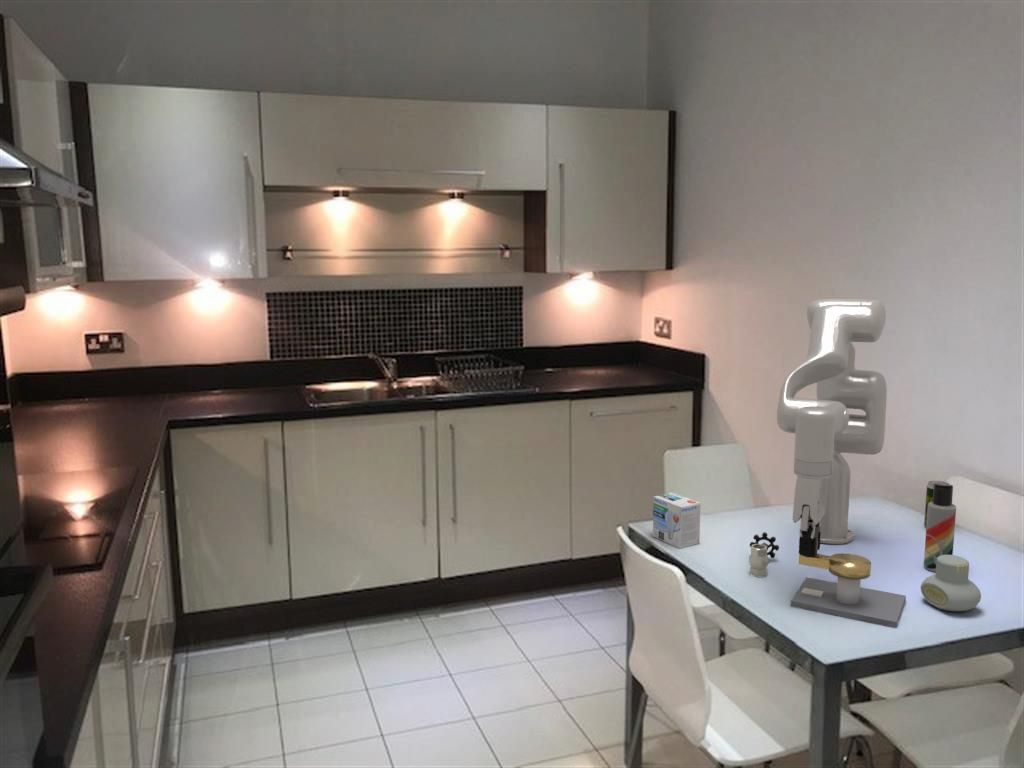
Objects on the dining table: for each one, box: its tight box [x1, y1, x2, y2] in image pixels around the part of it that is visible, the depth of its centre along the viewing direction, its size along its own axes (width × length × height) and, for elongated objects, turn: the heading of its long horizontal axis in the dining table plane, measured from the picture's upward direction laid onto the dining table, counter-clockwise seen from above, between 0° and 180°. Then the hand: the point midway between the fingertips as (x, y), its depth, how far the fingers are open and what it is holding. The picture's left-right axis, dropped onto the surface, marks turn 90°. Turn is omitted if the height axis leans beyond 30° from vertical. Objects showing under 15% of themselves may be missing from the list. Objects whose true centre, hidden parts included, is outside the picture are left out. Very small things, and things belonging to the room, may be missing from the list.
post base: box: [790, 576, 907, 629], centre depth 176 cm, size 14×20×7 cm
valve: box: [748, 532, 780, 577], centre depth 195 cm, size 7×7×12 cm
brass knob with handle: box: [798, 526, 872, 581], centre depth 175 cm, size 8×14×8 cm, turn 59°
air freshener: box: [920, 555, 982, 612], centre depth 174 cm, size 11×8×10 cm
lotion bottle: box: [923, 484, 957, 573], centre depth 192 cm, size 6×6×20 cm
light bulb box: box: [652, 491, 701, 550], centre depth 213 cm, size 11×7×11 cm, turn 31°
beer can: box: [923, 480, 951, 529], centre depth 218 cm, size 5×5×12 cm
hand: (809, 551), depth 178 cm, fingers open, 3 cm apart
